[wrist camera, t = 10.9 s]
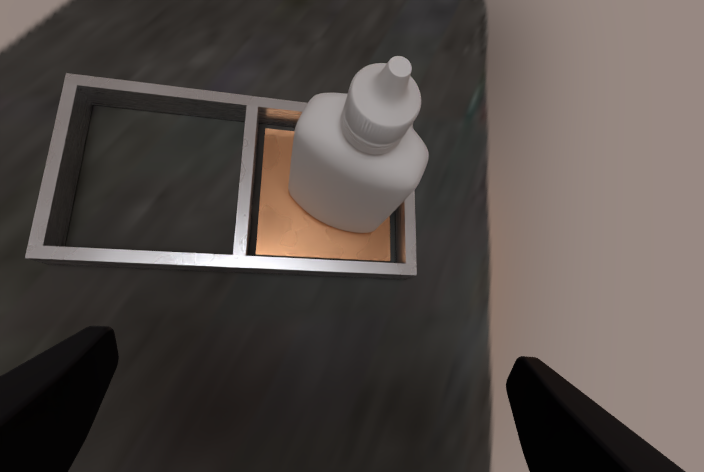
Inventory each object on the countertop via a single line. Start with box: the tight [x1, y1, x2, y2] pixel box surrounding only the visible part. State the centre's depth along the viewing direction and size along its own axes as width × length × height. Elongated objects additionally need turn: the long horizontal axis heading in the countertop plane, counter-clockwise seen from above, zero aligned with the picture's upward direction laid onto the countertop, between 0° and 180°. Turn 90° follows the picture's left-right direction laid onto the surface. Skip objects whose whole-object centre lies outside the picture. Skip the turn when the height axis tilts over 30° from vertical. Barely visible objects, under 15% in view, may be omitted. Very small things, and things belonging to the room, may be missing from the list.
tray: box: [25, 73, 417, 279], centre depth 21 cm, size 19×10×2 cm, turn 89°
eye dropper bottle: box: [288, 56, 428, 233], centre depth 17 cm, size 4×6×12 cm
